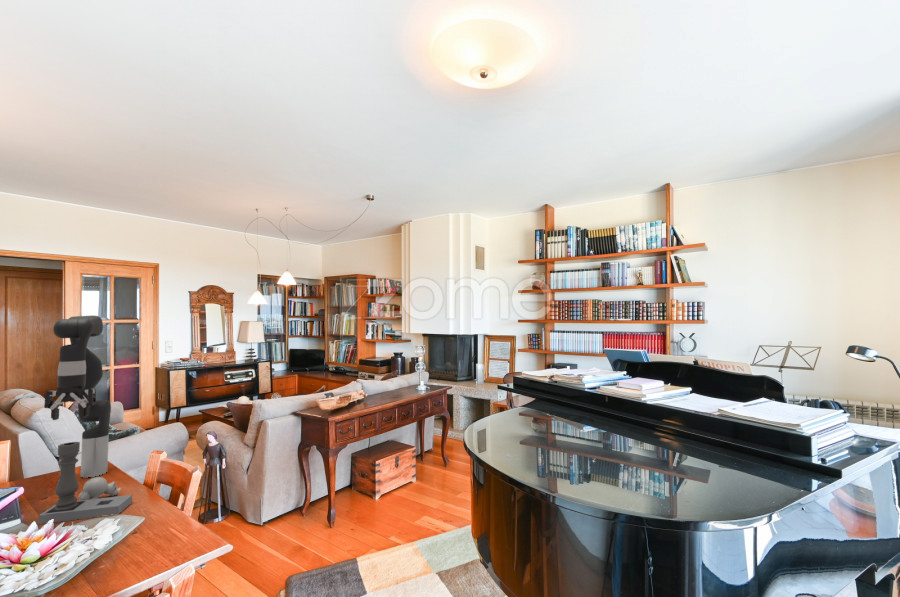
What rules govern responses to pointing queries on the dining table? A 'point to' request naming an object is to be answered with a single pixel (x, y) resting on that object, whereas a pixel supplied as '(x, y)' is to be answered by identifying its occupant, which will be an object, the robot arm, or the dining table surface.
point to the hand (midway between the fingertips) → (70, 418)
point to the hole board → (88, 509)
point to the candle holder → (67, 477)
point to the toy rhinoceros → (97, 489)
